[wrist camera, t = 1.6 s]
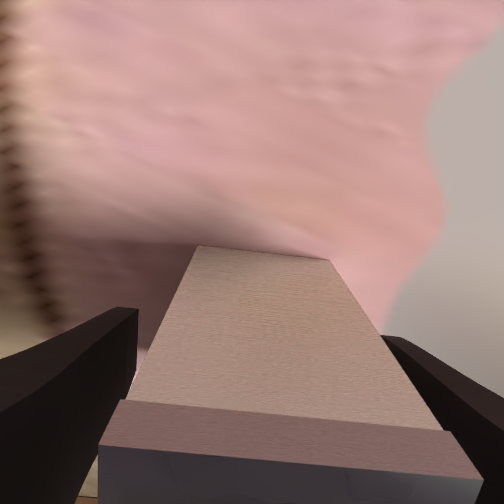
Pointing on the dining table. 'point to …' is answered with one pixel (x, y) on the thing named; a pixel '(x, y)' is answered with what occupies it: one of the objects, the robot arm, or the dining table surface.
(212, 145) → the dining table surface
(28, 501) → the robot arm
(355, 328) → the tea tin
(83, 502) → the tan flat square block
